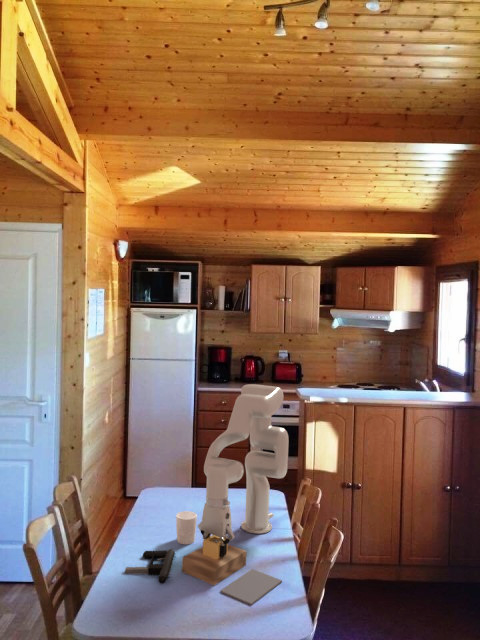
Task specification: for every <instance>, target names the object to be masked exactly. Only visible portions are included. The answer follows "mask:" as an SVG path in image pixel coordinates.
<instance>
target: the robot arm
mask: <svg viewBox="0 0 480 640" xmlns="http://www.w3.org/2000/svg"><path fill="white" fill-rule="evenodd" d="M284 397H285V396H284V392H283V390H282V388H281V387H278V386H274V385H273V386H272V385H263V384H254V383H253V384H252V383H251V384H245V385H243V386H242V387H241V389H240V394H239V395H238V396H237V398H236V399H235V401H234V402H235V403H234V405H233V408H232V412H231V416H230V417H229V422H228V425H227V429H226V430H225V431H224V432H222V433H221V434H220V435H219V436H217V438H216V439H215V440H213V442H212V443H211V444H210V446H209V448H208V451H207V454H206V457H205V459H204V460H205V461H204V465H203V472H204V475H205V476H206V490H205V491H206V494H205V503H204V506H203V509H202V516H201V522H199V524H198V525H197V528H198V529H199V531H200V533H201V535H202V539H203V540H205V539H207V538H208V537H210V536H212V535H215V536H218V537H219V538H220V542H221V545H220V553H219V556H220V557H223V556H224V555H226V552H227V544H228V545H229V543H230V542H231V541H232V540H235V534H234V533H233V531H232V529H233V528H232V524H233V523H232V512H231V508H230V504H231V502H230V501H229V485H230V484H233V483H234V484H235V483H237V482H238V481H240V480H241V479H242V478H243V476H244V473H245V474H246V475H245V476H246V485H245V486H246V490H245V517H244V519H245V520H243V521H242V522H241V525H240V528H241V529H242V530H243V531H245V532H247V533H250V534H266V533H269V532H270V531H271V530H272V528H273V525H272V524H271V522H270V521H269V520H270V519H271V518H273V517H274V513H273V512H270V511H269V509H270V507H269V506H270V483H269V481H268V480H269V479H268V478H274V479H283V478H284V477H285V476H286V474H287V472H288V466H289V465H288V462H289V461H288V460H289V443H290V442H289V434H288V431H287V430H286V429H285V428H284V427H279V426H274V425H272V416H273V415H274V414H275V413H276V412H277V411H278V410H279V409H280V407H281V406H282V404H283V402H284ZM248 438H249V444H250V445H251V446H252V447H254V448H256V449H262V450H261V451H260V450H251V451H249V452H247V454H246V456H245V457H244V465H243V463H242V462H241V461H238V460H234V459H228V458H225V457H223V458H222V457H219V455H220V453H221V452H222V451H223V449H225V448H226V447H228V446H230V445H232V444H235V443H239V442H242V441H245V440H246V439H248ZM263 450H267V451H263ZM269 451H274V453H273V452H269ZM244 467H245V468H244ZM223 538H224V539H223ZM224 540H225V541H224Z"/></svg>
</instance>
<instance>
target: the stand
mask: <svg viewBox="0 0 480 640" xmlns="http://www.w3.org/2000/svg"><path fill="white" fill-rule="evenodd" d="M213 542H215V543H217V542H218V540H213ZM181 559H182V561H181V562H182V563H181V572H182V573H184V574H186V575H188V576H190V577H193V578H195V579H198V580H200V581H202V582H205V583H207V584H209V585H211V586H216V585H217V584H219V583H220V582H222V581H223V580H225V579H227V578H228V577H230V576H231V575H233V574H235V573H236V572H237V571H239V570H240V569H242V568H244V567H245V566H247V550H245V549H242V548H239V547H236V546H234V545H231V544H228V546H227V554H226V555H224V556H223V557H220V558H219V559H217V560H216V559H213V558H211V557H208V556H206V555H203V546H201V547H200V548H196V549H195V550H193V551H192V552H190V553H188V554H186V555H185V556H182V558H181Z"/></svg>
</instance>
